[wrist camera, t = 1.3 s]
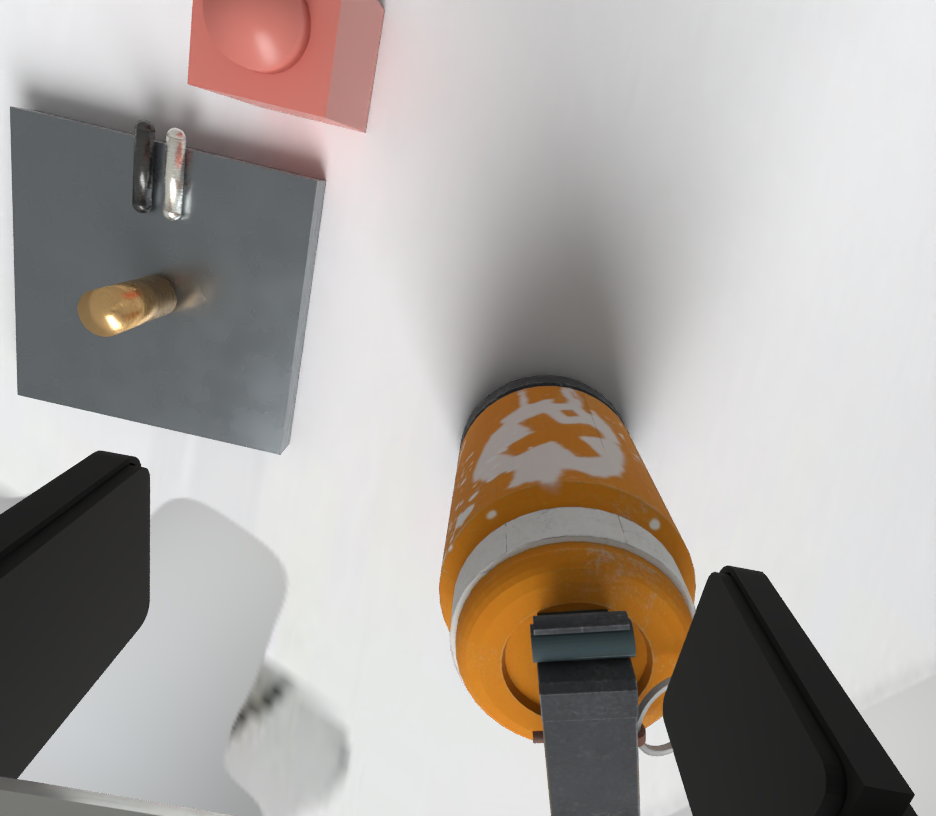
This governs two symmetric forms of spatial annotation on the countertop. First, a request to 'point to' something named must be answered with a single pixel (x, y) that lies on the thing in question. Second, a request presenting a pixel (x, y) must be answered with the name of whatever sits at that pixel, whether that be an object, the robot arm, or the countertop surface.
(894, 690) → the countertop surface
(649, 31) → the countertop surface
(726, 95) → the countertop surface
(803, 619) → the countertop surface
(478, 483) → the canister
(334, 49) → the pink cube with dome
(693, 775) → the robot arm
